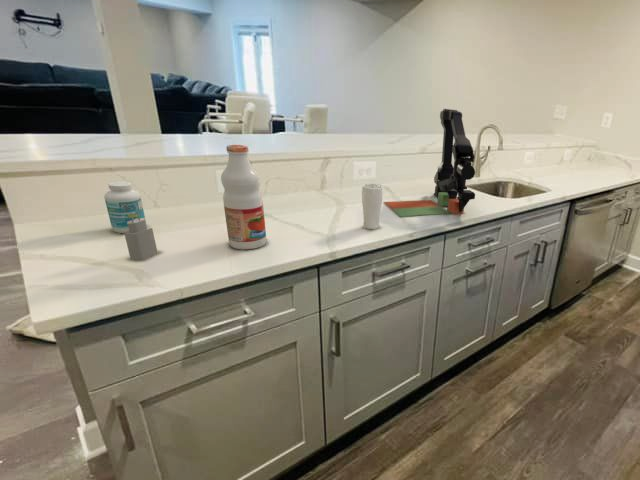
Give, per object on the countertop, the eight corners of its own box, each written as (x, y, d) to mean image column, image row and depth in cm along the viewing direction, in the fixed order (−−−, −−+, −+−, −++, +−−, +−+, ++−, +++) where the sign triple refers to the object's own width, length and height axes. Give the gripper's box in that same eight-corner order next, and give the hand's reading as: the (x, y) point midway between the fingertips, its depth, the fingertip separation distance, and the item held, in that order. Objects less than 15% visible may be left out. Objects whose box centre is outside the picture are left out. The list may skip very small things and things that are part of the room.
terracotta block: (457, 209, 168) (459, 198, 166) (463, 213, 164) (464, 202, 162) (447, 210, 165) (448, 198, 163) (453, 213, 161) (454, 202, 159)
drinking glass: (376, 232, 132) (377, 190, 126) (357, 228, 133) (358, 186, 127) (384, 226, 138) (385, 185, 132) (367, 222, 139) (367, 182, 133)
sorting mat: (431, 200, 174) (431, 199, 174) (449, 213, 161) (449, 212, 161) (384, 202, 163) (384, 202, 162) (400, 217, 149) (400, 216, 149)
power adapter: (128, 259, 95) (117, 213, 90) (147, 250, 100) (137, 207, 95) (141, 261, 95) (130, 215, 90) (159, 252, 100) (149, 209, 95)
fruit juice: (235, 236, 114) (223, 141, 103) (270, 238, 117) (262, 145, 106) (223, 249, 106) (209, 147, 95) (261, 250, 108) (251, 151, 98)
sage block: (447, 202, 175) (448, 191, 173) (452, 205, 172) (453, 195, 170) (437, 202, 173) (438, 192, 171) (442, 206, 169) (443, 195, 167)
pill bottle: (109, 234, 105) (96, 187, 100) (117, 225, 111) (105, 179, 106) (144, 233, 109) (133, 187, 103) (150, 224, 114) (140, 180, 109)
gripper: (432, 168, 161) (429, 203, 167) (453, 179, 147) (449, 217, 153) (455, 168, 167) (451, 202, 173) (478, 179, 153) (473, 216, 159)
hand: (455, 209), depth 164 cm, fingers open, 7 cm apart
